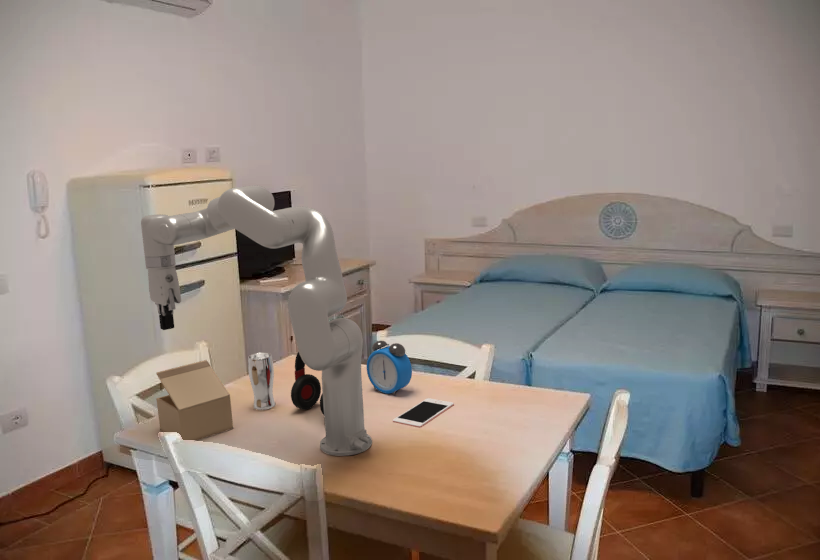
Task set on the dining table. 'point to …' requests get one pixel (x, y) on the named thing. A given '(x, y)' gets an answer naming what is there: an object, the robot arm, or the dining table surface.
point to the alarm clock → (388, 367)
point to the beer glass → (261, 380)
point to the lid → (192, 385)
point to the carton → (195, 418)
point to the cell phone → (423, 412)
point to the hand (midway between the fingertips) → (167, 328)
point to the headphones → (305, 388)
